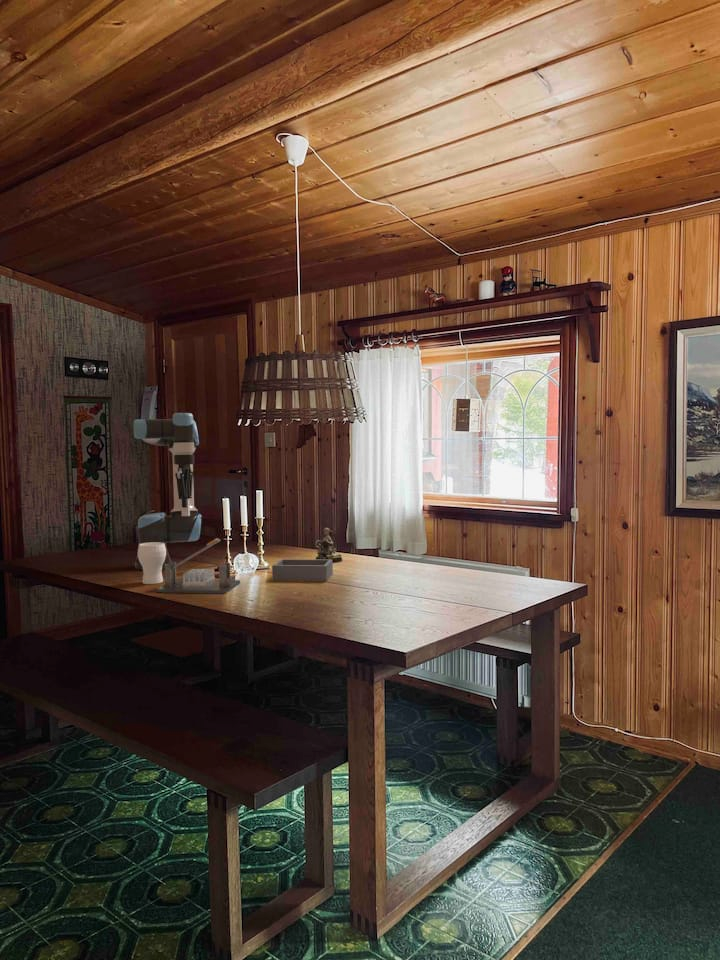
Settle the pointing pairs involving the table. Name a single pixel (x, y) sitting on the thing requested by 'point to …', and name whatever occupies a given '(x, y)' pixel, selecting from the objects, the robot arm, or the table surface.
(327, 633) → the table surface
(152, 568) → the cup
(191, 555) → the strap
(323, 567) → the tray
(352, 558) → the table surface
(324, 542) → the figurine
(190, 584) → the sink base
